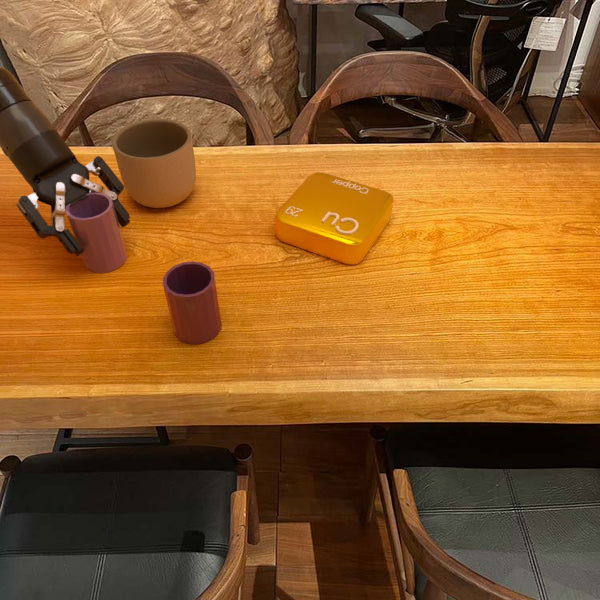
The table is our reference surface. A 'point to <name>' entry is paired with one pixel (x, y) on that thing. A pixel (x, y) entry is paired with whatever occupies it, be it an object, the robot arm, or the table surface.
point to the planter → (156, 161)
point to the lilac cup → (97, 232)
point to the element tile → (334, 217)
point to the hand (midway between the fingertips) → (104, 238)
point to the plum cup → (192, 302)
